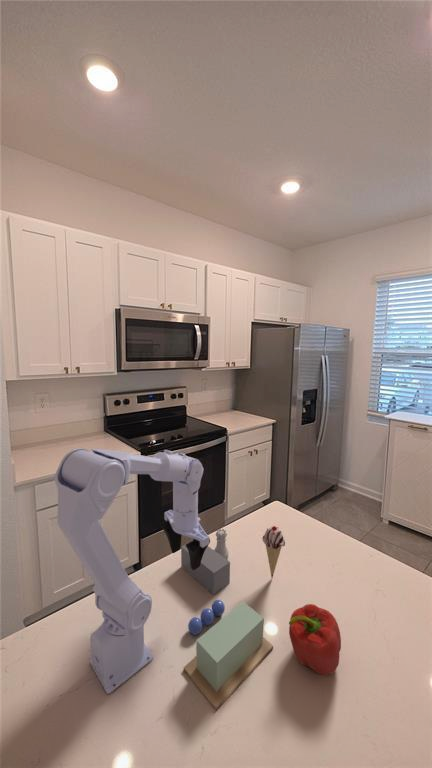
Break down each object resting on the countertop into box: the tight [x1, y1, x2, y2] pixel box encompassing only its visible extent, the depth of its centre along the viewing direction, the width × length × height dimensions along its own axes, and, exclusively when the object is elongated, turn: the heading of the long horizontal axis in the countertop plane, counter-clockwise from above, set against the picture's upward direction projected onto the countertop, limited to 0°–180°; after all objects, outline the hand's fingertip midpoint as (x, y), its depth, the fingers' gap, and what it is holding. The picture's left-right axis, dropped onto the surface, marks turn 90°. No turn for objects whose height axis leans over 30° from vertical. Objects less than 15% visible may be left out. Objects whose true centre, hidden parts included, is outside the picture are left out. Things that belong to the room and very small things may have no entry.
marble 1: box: [187, 616, 203, 636], centre depth 68 cm, size 3×3×3 cm
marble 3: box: [211, 599, 226, 617], centre depth 73 cm, size 3×3×3 cm
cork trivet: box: [183, 636, 274, 711], centre depth 63 cm, size 16×9×1 cm, turn 133°
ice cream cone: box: [262, 525, 286, 579], centre depth 82 cm, size 6×6×15 cm
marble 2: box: [199, 607, 215, 626], centre depth 70 cm, size 3×3×3 cm
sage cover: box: [195, 601, 265, 692], centre depth 62 cm, size 13×6×6 cm, turn 133°
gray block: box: [180, 541, 231, 596], centre depth 84 cm, size 13×6×6 cm, turn 44°
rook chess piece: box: [213, 528, 229, 560], centre depth 91 cm, size 4×4×8 cm
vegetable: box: [288, 603, 342, 675], centre depth 62 cm, size 11×10×10 cm
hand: (185, 558), depth 76 cm, fingers open, 7 cm apart
